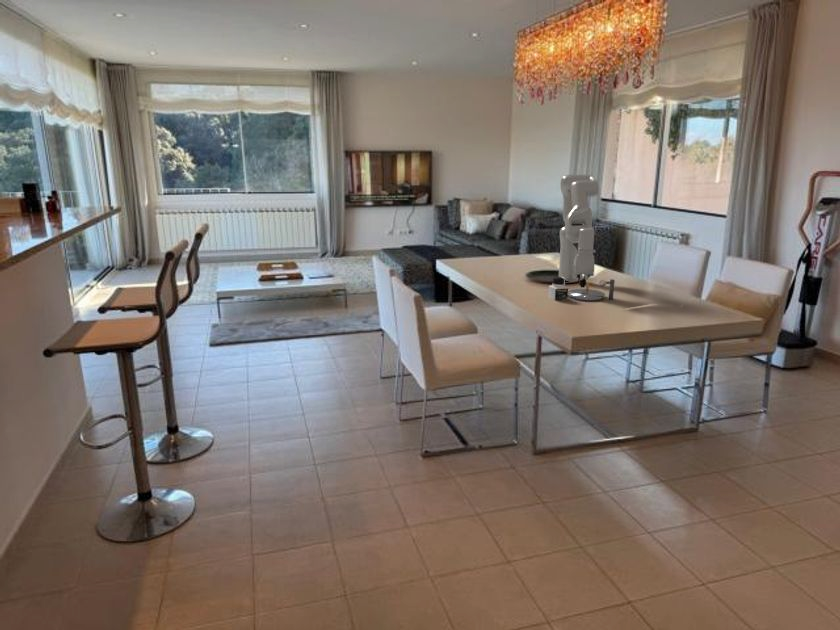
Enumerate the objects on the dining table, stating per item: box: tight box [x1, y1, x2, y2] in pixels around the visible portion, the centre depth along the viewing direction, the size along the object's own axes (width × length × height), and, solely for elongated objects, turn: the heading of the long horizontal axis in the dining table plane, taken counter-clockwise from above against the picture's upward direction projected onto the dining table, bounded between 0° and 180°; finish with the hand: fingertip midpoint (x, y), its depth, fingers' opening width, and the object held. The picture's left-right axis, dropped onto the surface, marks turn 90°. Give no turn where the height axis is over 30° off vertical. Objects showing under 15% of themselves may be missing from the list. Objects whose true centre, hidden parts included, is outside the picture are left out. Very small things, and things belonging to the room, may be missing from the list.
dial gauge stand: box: [598, 279, 616, 301], centre depth 287 cm, size 4×9×11 cm, turn 91°
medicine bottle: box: [547, 275, 569, 301], centre depth 290 cm, size 7×7×12 cm
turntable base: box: [568, 297, 607, 303], centre depth 293 cm, size 19×19×1 cm
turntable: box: [568, 281, 606, 302], centre depth 292 cm, size 18×18×6 cm
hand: (582, 286), depth 299 cm, fingers closed
